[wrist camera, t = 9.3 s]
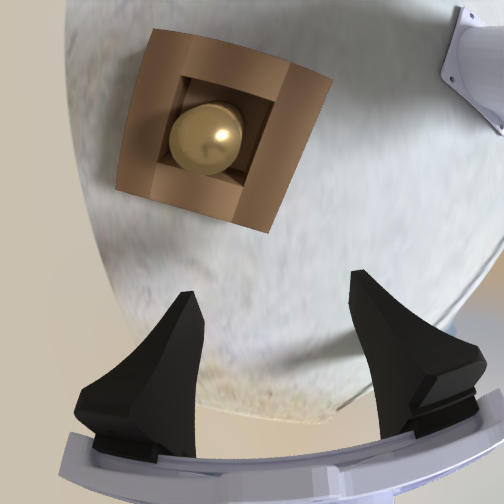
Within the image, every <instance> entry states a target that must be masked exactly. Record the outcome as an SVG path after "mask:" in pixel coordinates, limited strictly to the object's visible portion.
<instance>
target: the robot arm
mask: <svg viewBox="0 0 504 504" xmlns="http://www.w3.org/2000/svg"><path fill="white" fill-rule="evenodd" d="M470 15H471V17H470ZM450 77H451V78H452V82H451V81H450ZM441 78H442V79H443V81H445V82H446V83H447V84H448V85H450V86H451V87H452V88H453V89H454V90H456V91H457V92H458V93H459V94H460V95H461V96H463V97H464V98H465V99H466V100H467V101H468V102H469V103H470V104H471V105H472V106H474V107H475V108H476V109H477V110H478V111H479V112H480V113H481V114H482V115H483V116H484V117H485V118H486V119H487V120H488V121H489V122H490V123H491V124H492V125H493V126H494V127H495V128H496V129H497V130H498V132H499V133H500V134H501V135H502V136H503V137H504V26H490V27H487V26H486V25H485V24H484V23H483V22H482V21H481V20H480V19H479V18H478V17H477V16H476V15H475V14H474V13H473V12H472V11H471V10H470V9H469V8H467V7H461V10H460V13H459V17H458V21H457V24H456V27H455V31H454V34H453V37H452V41H451V44H450V47H449V50H448V53H447V56H446V59H445V62H444V64H443V67H442V70H441ZM348 304H349V309H350V313H351V317H352V321H353V324H354V327H355V330H356V332H357V335H358V338H359V340H360V343H361V346H362V348H363V351H364V354H365V356H366V359H367V362H368V365H369V369H370V373H371V378H372V382H373V387H374V392H375V398H376V403H377V411H378V418H379V426H380V436H381V440H379V441H375V442H371V443H366V444H362V445H358V446H353V447H349V448H344V449H338V450H332V451H326V452H320V453H313V454H306V455H297V456H287V457H275V458H259V459H202V458H196V448H195V393H196V382H197V375H198V370H199V364H200V359H201V353H202V348H203V342H204V325H205V321H204V318H203V316H202V313H201V310H200V308H199V305H198V302H197V300H196V297H195V294H194V291H186V292H181V293H180V294H179V295H178V297H177V298H176V299H175V301H174V302H173V304H172V305H171V306H170V308H169V309H168V310H167V312H166V313H165V315H164V316H163V317H162V319H161V320H160V321H159V323H158V324H157V325H156V326H155V328H154V329H153V330H152V331H151V332H150V334H149V335H148V336H147V337H146V338H145V340H144V341H143V342H142V343H141V344H140V345H139V346H138V347H137V348H136V349H135V350H134V351H133V352H132V353H131V354H130V355H129V356H128V357H127V358H125V359H124V360H123V361H122V362H121V363H120V364H119V365H117V366H116V367H115V368H114V369H113V370H111V371H110V372H108V373H107V374H105V375H104V376H103V377H101V378H100V379H98V380H97V381H95V382H93V383H92V384H90V385H88V386H87V387H85V388H83V389H82V390H81V393H80V395H79V398H78V401H77V404H76V407H75V410H74V415H75V417H76V418H77V419H78V420H79V421H80V422H81V423H82V424H84V425H85V426H86V427H87V428H89V429H90V430H91V431H93V432H94V433H95V438H94V439H93V438H91V437H88V436H84V435H81V434H77V433H74V432H70V434H69V437H68V441H67V444H66V447H65V451H64V455H63V459H62V462H61V466H60V470H59V476H60V477H62V478H65V479H66V480H68V481H71V482H73V483H75V484H77V485H79V486H82V487H84V488H86V489H88V490H91V491H94V492H97V493H100V494H103V495H106V496H110V497H112V498H116V499H119V500H123V501H127V502H130V503H135V504H395V502H394V496H396V495H399V494H401V493H404V492H407V491H410V490H413V489H415V488H418V487H420V486H423V485H426V484H428V483H430V482H433V481H435V480H437V479H439V478H442V477H444V476H446V475H448V474H450V473H453V472H455V471H456V470H459V469H460V468H463V467H464V466H467V465H469V464H470V463H472V462H474V461H476V460H478V459H480V458H481V457H483V456H485V455H487V454H488V453H490V452H491V451H493V450H494V449H496V448H497V447H499V446H500V445H501V444H503V443H504V396H503V394H502V392H501V389H500V388H498V389H496V390H494V391H492V392H490V393H488V394H486V395H484V396H483V397H481V398H479V399H478V400H477V401H476V399H475V397H474V395H475V394H476V389H475V387H474V385H475V384H476V383H477V381H478V380H479V379H480V378H481V376H482V375H483V373H484V372H485V370H486V367H487V362H486V360H485V358H484V356H483V354H482V353H481V351H480V349H479V348H478V346H476V345H473V344H470V343H467V342H465V341H462V340H460V339H457V338H455V337H453V336H451V335H449V334H447V333H445V332H443V331H441V330H439V329H437V328H436V327H434V326H432V325H430V324H429V323H427V322H425V321H424V320H422V319H421V318H419V317H418V316H417V315H415V314H414V313H412V312H411V311H410V310H408V309H407V308H406V307H404V306H403V305H402V304H401V303H399V302H398V301H397V300H396V299H395V298H394V297H393V296H391V295H390V294H389V293H388V292H387V291H386V290H385V289H384V288H383V287H382V286H381V285H380V284H378V283H377V282H376V281H375V280H374V279H373V278H372V277H371V276H370V275H369V274H368V273H367V272H366V271H365V270H364V269H363V270H356V271H351V279H350V292H349V303H348ZM351 465H354V466H351Z"/></svg>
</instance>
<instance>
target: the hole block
mask: <svg viewBox="0 0 504 504" xmlns="http://www.w3.org/2000/svg"><path fill="white" fill-rule="evenodd" d="M332 81H333V80H332V79H330V78H328V77H326V76H323V75H321V74H319V73H316V72H314V71H312V70H309V69H307V68H304V67H302V66H299V65H297V64H294V63H291V62H289V61H286V60H283V59H280V58H277V57H274V56H272V55H269V54H265V53H262V52H259V51H256V50H253V49H249V48H246V47H242V46H239V45H235V44H231V43H228V42H224V41H220V40H215V39H211V38H206V37H202V36H197V35H192V34H186V33H181V32H175V31H168V30H161V29H153V31H152V34H151V36H150V39H149V42H148V45H147V48H146V51H145V54H144V57H143V61H142V64H141V67H140V70H139V74H138V77H137V81H136V85H135V88H134V92H133V96H132V100H131V104H130V108H129V113H128V117H127V122H126V126H125V131H124V136H123V141H122V147H121V152H120V158H119V165H118V171H117V178H116V185H115V190H118V191H122V192H126V193H129V194H133V195H136V196H140V197H144V198H147V199H151V200H154V201H158V202H162V203H165V204H169V205H172V206H176V207H179V208H183V209H186V210H190V211H193V212H197V213H200V214H203V215H207V216H210V217H214V218H217V219H221V220H224V221H227V222H231V223H234V224H237V225H241V226H244V227H247V228H251V229H254V230H257V231H261V232H264V233H267V234H268V233H269V231H270V229H271V226H272V224H273V222H274V219H275V217H276V214H277V212H278V210H279V207H280V205H281V203H282V200H283V198H284V196H285V193H286V191H287V189H288V186H289V184H290V182H291V179H292V177H293V174H294V172H295V170H296V167H297V165H298V163H299V160H300V158H301V156H302V153H303V151H304V148H305V146H306V144H307V141H308V139H309V137H310V134H311V132H312V129H313V127H314V125H315V122H316V120H317V117H318V115H319V113H320V110H321V108H322V105H323V103H324V101H325V98H326V96H327V93H328V91H329V89H330V86H331V84H332ZM213 100H226V101H229V102H231V103H233V104H234V105H236V106H237V107H238V108H239V109H240V111H241V113H242V115H243V118H244V129H243V135H242V140H241V145H240V150H239V153H238V155H237V157H236V159H235V160H234V162H233V163H232V164H231V165H230V166H229V167H228V168H226V169H225V170H223V171H221V172H219V173H216V174H213V175H197V174H193V173H191V172H188V171H187V170H185V169H183V168H182V167H181V166H180V165H179V164H178V163H177V162H176V160H175V159H174V157H173V156H172V153H171V150H170V145H169V137H170V132H171V129H172V127H173V125H174V123H175V121H176V120H177V119H178V118H179V117H180V116H181V115H182V114H184V113H185V112H187V111H188V110H190V109H193V108H195V107H198V106H200V105H202V104H205V103H207V102H210V101H213Z"/></svg>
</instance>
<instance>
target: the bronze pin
mask: <svg viewBox="0 0 504 504" xmlns="http://www.w3.org/2000/svg"><path fill="white" fill-rule="evenodd" d="M243 129H244V118H243V115H242V113H241V111H240V109H239V108H238V107H237V106H236V105H234V104H233V103H231V102H229V101H226V100H213V101H210V102H207V103H205V104H202V105H200V106H198V107H195V108H193V109H190V110H188V111H187V112H185V113H184V114H182V115H181V116H180V117H179V118H178V119H177V120H176V121H175V123H174V125H173V127H172V129H171V132H170V137H169V145H170V150H171V153H172V156H173V157H174V159H175V160H176V162H177V163H178V164H179V165H180V166H181V167H182V168H183V169H185V170H187V171H188V172H191V173H193V174H197V175H213V174H216V173H219V172H221V171H223V170H225V169H226V168H228V167H229V166H230V165H231V164H232V163H233V162H234V160H235V159H236V157H237V155H238V153H239V150H240V145H241V140H242V135H243Z"/></svg>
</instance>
